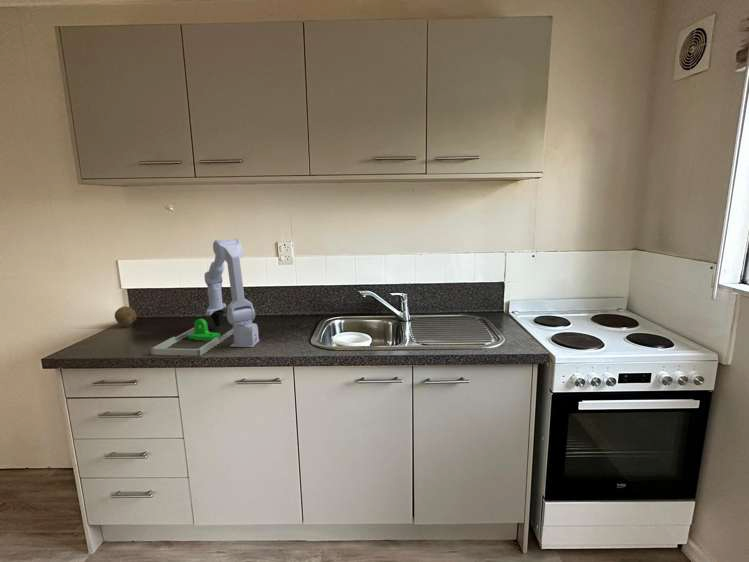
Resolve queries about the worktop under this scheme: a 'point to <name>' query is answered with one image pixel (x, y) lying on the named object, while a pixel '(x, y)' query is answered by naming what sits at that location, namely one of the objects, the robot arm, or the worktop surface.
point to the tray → (163, 349)
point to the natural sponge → (125, 316)
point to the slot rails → (194, 331)
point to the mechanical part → (202, 331)
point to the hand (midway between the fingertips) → (218, 326)
